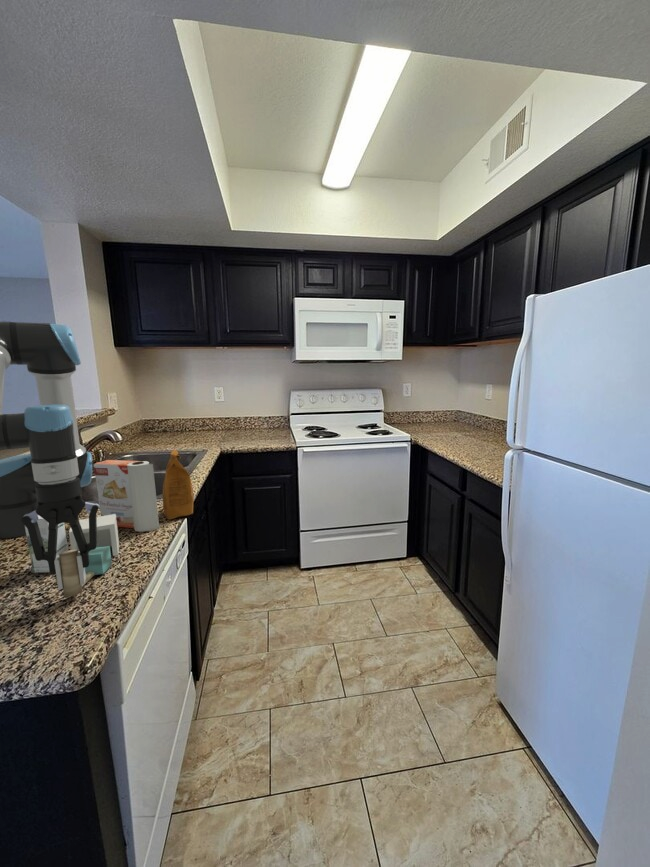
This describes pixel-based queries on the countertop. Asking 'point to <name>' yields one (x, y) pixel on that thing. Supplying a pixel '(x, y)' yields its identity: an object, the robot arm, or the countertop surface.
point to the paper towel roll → (143, 496)
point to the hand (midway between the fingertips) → (72, 583)
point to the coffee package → (177, 489)
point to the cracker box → (114, 491)
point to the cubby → (100, 533)
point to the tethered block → (97, 565)
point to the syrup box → (46, 545)
